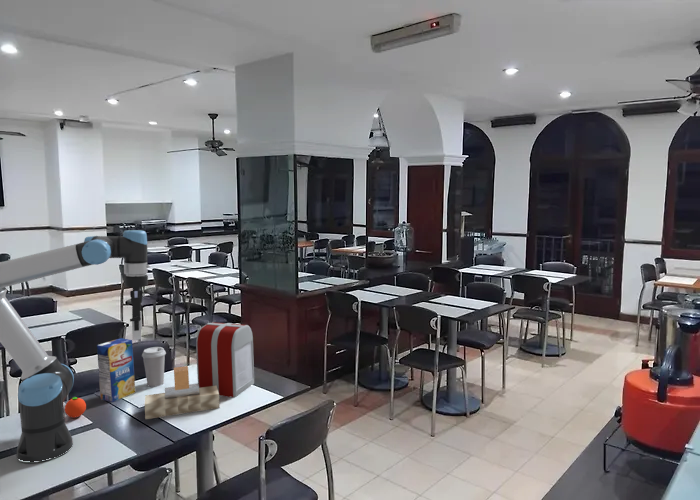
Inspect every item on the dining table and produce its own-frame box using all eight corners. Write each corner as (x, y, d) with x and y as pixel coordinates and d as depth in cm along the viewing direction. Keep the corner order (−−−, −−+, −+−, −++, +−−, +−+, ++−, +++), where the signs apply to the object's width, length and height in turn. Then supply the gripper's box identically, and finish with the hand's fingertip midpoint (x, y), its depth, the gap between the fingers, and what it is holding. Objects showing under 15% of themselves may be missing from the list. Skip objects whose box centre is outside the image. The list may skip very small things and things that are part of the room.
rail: (145, 419, 180) (144, 404, 180) (146, 409, 189) (145, 395, 188) (219, 407, 189) (219, 393, 189) (217, 398, 198) (216, 385, 197)
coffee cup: (159, 388, 209) (157, 353, 207) (138, 387, 211) (136, 352, 209) (171, 380, 218) (170, 346, 216) (152, 379, 220) (150, 345, 218)
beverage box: (100, 399, 199) (96, 345, 196) (124, 389, 208) (120, 338, 206) (111, 402, 196) (108, 347, 193) (135, 392, 205) (132, 340, 203)
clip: (166, 412, 184) (163, 373, 183) (166, 407, 189) (163, 368, 187) (199, 407, 189) (198, 368, 187) (199, 402, 193) (197, 364, 192)
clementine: (64, 414, 185) (63, 396, 184) (85, 410, 189) (84, 391, 188) (65, 422, 178) (64, 403, 178) (87, 417, 182) (86, 399, 181)
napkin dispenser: (235, 397, 199) (232, 331, 196) (197, 392, 204) (193, 328, 201) (255, 382, 214) (253, 321, 211) (219, 378, 220) (216, 318, 217)
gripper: (147, 279, 164) (148, 343, 166) (147, 269, 187) (148, 325, 189) (122, 280, 161) (123, 344, 163) (125, 270, 184) (127, 326, 187)
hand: (137, 334), depth 176 cm, fingers open, 13 cm apart
